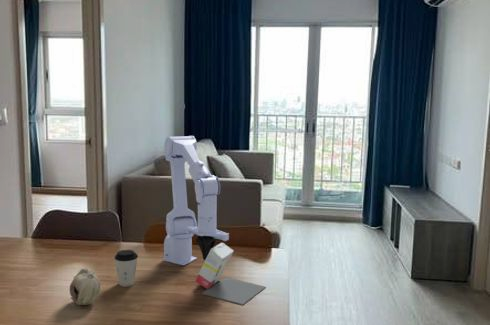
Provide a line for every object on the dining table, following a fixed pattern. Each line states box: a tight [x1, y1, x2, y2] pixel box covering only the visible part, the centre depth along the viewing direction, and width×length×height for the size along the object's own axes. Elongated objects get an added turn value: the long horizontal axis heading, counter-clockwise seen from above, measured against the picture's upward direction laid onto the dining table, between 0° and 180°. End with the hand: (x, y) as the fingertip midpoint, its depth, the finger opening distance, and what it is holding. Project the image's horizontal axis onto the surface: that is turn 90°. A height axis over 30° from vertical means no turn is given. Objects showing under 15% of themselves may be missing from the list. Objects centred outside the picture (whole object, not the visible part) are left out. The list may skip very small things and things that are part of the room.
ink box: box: [195, 242, 234, 290], centre depth 141 cm, size 9×5×12 cm, turn 157°
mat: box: [201, 277, 266, 306], centre depth 138 cm, size 14×14×1 cm
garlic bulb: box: [68, 267, 101, 306], centre depth 127 cm, size 9×8×10 cm
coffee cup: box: [114, 249, 139, 288], centre depth 141 cm, size 7×7×10 cm
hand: (206, 259), depth 142 cm, fingers closed
